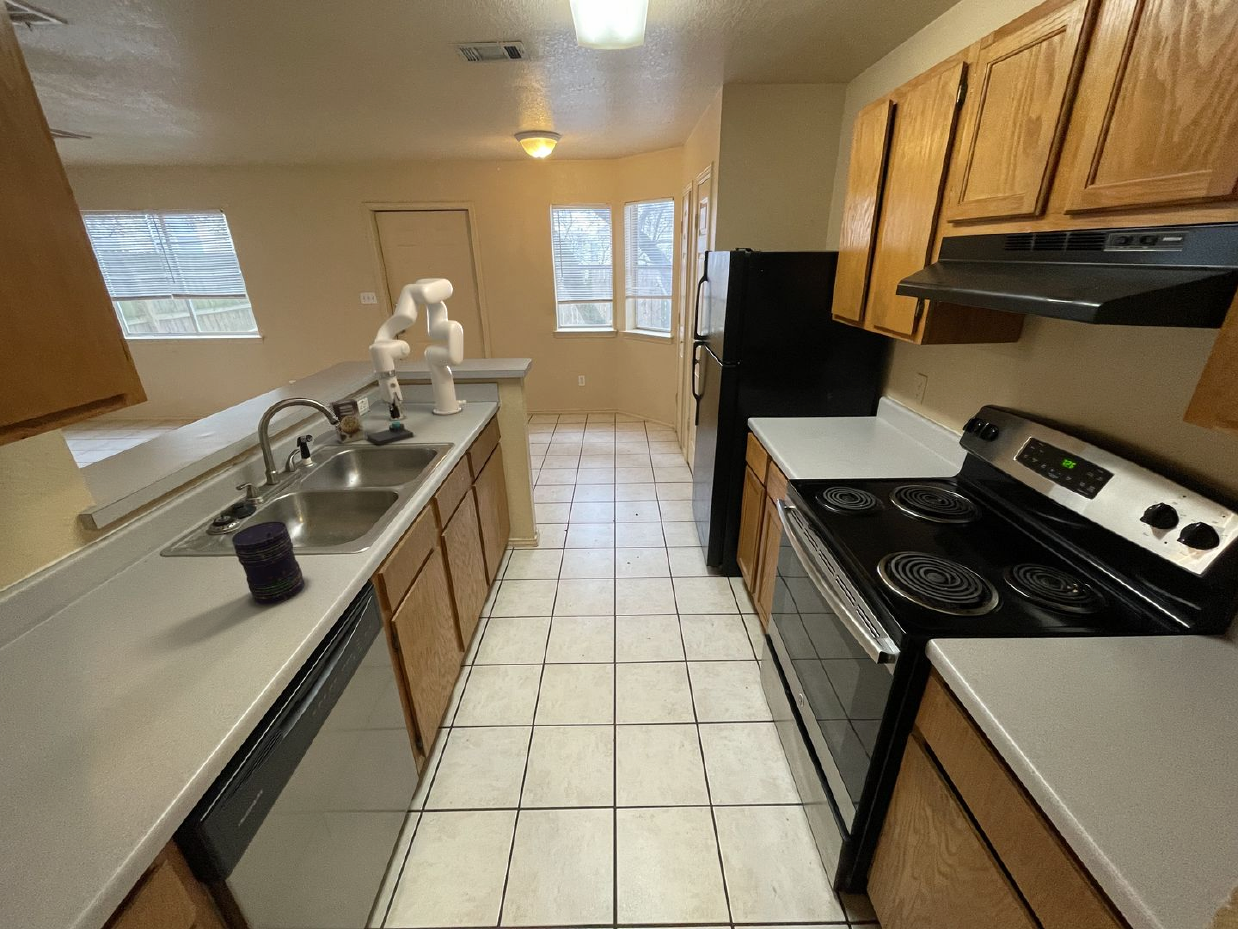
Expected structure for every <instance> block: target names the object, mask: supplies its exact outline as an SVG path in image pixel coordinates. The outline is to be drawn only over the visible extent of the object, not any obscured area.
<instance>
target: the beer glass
mask: <svg viewBox="0 0 1238 929" xmlns="http://www.w3.org/2000/svg"><path fill="white" fill-rule="evenodd" d="M398 402H399V406H398V407H399V408H398V409H399V413H400V417H399V418H395V419H393V418H391V415H389V416H390V418H389V419H390V420H391V421H400V420H404V419H405V414H404V411H403V400H402V401H398ZM385 403H386V405H387V406H388V404H387V402H386V401H385Z"/></svg>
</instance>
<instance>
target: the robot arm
mask: <svg viewBox="0 0 1238 929" xmlns="http://www.w3.org/2000/svg"><path fill="white" fill-rule="evenodd" d="M452 294H453V285H452V283H451V281H449V280H448V279H446V278H421V279H418V280H416V281H415V283H409V284H406V285H404V286H403V287H402V289H401V292H400V296H399V298H398V302H397V304H396V307H395V309H394V310H395V311H394V313H393V315H391V316H390V317H389V318H388V319H387V320H386V321H385V322H384V323H382V325H381V327H380V328H379V329H378V331H377V334H376V336H375V339H374V343H373V344H370V345H369V353H370V357H371V361H372V365H373V370H374V374H375V378H376V381H378V386H379V391H380V396H381V398H382V400H383V401H385V403H386V402H387V403H386V405H387V404H388V405H387V407H388V410H389V414H390V415H391V418H393V419H395V418H399V417H400V413H399V409H398V408H399V407H398V406H399V402H398V401H402V402H403V401H404V400H403V396H402V395H403V394H402V391H401V388H400V385H399V382H398V380H397V372H396V368H395V367H396V366H395V364H394V360H401V359H405V358H406V357H408V356H409V354H410V352H411V347H410V345H409V343H407V342H406V341H405V340H402V339H394V337H395V336H396V335H397V334H398V333H400V332H402V331H403V330H406V329H408V328H410V327H412V326H413V325H415V324H416V321H417V317H418V314H419V312H420V308H421V306H425V307H426V313H427V334H428V338H429V339H430V340H431V341H433V342H437V343H438V342H440V343H443V342H444V343H447V344H431V345H429V346H427V347H426V348H425V351H424V358H425V361H426V364H427V366H428V370H429V374H430V379H431V380H430V381H431V385H432V386H431V387H432V390H433V396H434V402H435V408H434V409H433V414H435V415H440V416H441V415H442V416H446V415H453V414H457V413H459V412H461V411H462V407H461V406H462V405H463V406H464V405H466V404H467V401H466V399H463V400H460V399H459V400H458V399H457V396H456V390H455V384H454V377H453V373H452V370H451V369H450V367H459V366H460V365H462V363H463V360H464V330H463V327H462V325H461V324H460V323H459V322H458V321H456V320H451V319H450V320H449V319H448V309H447V306H446V304H445V303H444V301H446V300H448V299H450V298H451V297H452ZM390 415H389V416H390Z"/></svg>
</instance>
